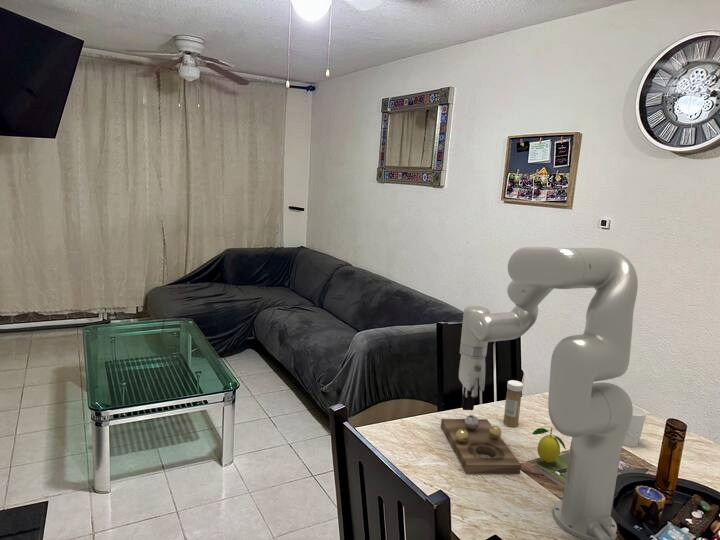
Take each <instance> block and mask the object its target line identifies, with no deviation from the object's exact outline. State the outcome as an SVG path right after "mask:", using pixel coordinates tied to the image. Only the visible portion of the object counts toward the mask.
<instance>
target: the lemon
mask: <svg viewBox="0 0 720 540" xmlns="http://www.w3.org/2000/svg"><path fill="white" fill-rule="evenodd" d="M552 431H553V427H551V428H550V430H548V429H546V428H543V427H539V428H537V429H535V430H534V431H533V432H532V434H531V435H541V434H542V435H543V434H546V433H550V434H549V435H545V436H543V437H542V438H540V440H539V441H538V444H537V455H538V456H539V457H540V459H542V460H543V461H544V462H545V463H547V464H549V463H554V462H556V461H557V460H558V459H559V457H560V453H561V446H562V447H563V448H564V450H567V447H566V444H565V443H564V441H563V440H562V439H561V437H559V436H556V435H554V434H553V432H552ZM560 444H561V446H560Z"/></svg>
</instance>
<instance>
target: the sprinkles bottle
mask: <svg viewBox="0 0 720 540" xmlns="http://www.w3.org/2000/svg"><path fill="white" fill-rule="evenodd" d="M506 389H507V390H506V397H505V403H504V416H503V421H502V423H503V424H504V425H505V426H506V427H510V428H516V427H519V421H520V420H519V418H520V413H521V412H520V411H521V400H522V393H523V389H524V384H523V382H521V381H518V380H514V379H511V380H508V381H507V384H506Z"/></svg>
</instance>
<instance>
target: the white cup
mask: <svg viewBox="0 0 720 540" xmlns="http://www.w3.org/2000/svg"><path fill="white" fill-rule="evenodd" d="M632 406H633V414H632V420H631V423H630V426H629V428H628V431H627V433H626V436H625V439H624V442H623V446H625V447H631V448H635V447H638V445H639V444H640V443H639V442H640V439H641V437H642V433H643V429H644V425H645V419H646V416H647V412H646V411H645V410H644V409H643V408H641V407H639V406H638V405H637V406H636V405H633V404H632Z"/></svg>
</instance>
